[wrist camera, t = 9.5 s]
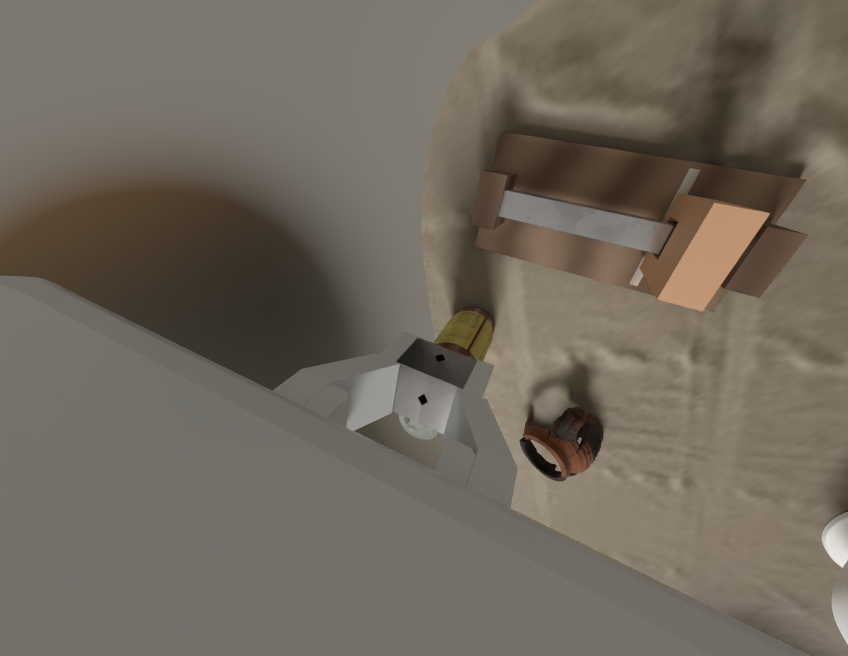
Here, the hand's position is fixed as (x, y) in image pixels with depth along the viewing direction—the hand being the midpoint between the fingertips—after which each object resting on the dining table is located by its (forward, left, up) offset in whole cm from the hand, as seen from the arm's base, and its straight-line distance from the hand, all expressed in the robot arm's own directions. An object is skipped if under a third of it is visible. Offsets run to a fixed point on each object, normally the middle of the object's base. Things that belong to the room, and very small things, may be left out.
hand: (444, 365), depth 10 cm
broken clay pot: (-12, +25, -31) cm, 42 cm away
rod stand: (-6, -2, -31) cm, 31 cm away
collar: (-12, -2, -29) cm, 31 cm away
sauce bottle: (+4, +15, -31) cm, 35 cm away
